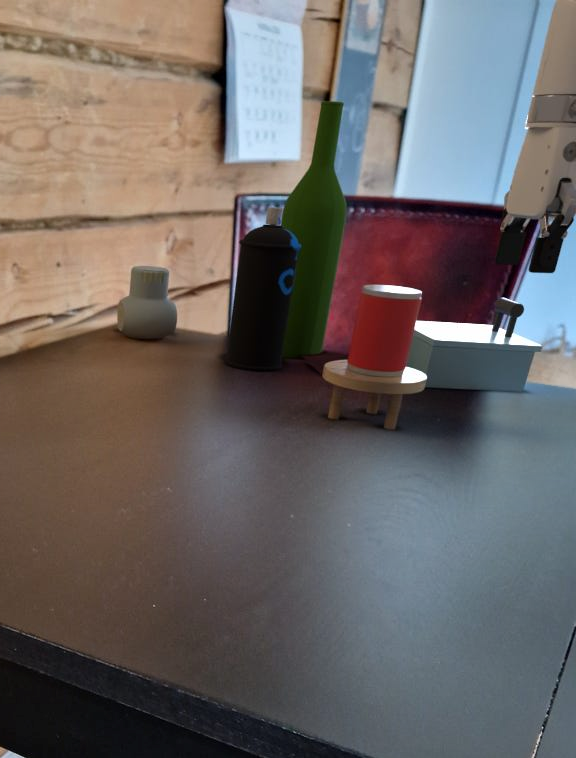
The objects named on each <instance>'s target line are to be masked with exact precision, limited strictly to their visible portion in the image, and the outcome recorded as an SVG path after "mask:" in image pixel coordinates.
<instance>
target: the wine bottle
mask: <svg viewBox="0 0 576 758" xmlns="http://www.w3.org/2000/svg"><path fill="white" fill-rule="evenodd" d="M344 106H345V103H344V102H343V101H331V100H324V101H321V103H320V111H319V115H318V121H317V128H316V134H315V138H314V139H315V140H314V145H313V151H312V155H311V156H312V157H311V163H310V165H309V167H308V169H307V171H306V172H305V173H304V174H303V176H302V177H301V178H300V181H299V182H298V183H297V184H296V186H295V187H294V189H292V191H291V193H290V194H289V195H288V197H287V198H286V201H285V203H284V207H283V208H282V209H283V211H282V214H281V224H280V226H282V228H284V229H286V230H288V231H290V232H291V233H293V234H294V235H295V237H296V238H297V240H298V243H299V244H301V248H300V249H299V252H298V258H297V264H296V271H295V277H294V283H293V290H292V296H291V302H290V309H289V315H288V321H287V328H286V334H285V340H284V347H283V353H282V358H285V359H297V360H305V357H304V356H302V355H318V354H322V352H323V349H324V343H325V338H326V332H327V327H328V322H329V316H330V310H331V305H332V299H333V293H334V289H335V288H334V287H335V282H336V276H337V273H338V272H337V270H338V266H339V261H340V255H341V248H342V244H343V238H344V232H345V226H346V222H347V216H348V215H347V214H348V213H347V211H348V210H347V209H348V207H347V200H346V198H345V194H344V192H343V190H342V186H341V184H340V181H339V179H338V175H337V172H336V167H335V163H336V156H337V148H338V142H339V135H340V130H341V124H342V116H343V111H344Z"/></svg>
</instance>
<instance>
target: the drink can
mask: <svg viewBox="0 0 576 758" xmlns="http://www.w3.org/2000/svg"><path fill="white" fill-rule="evenodd" d="M422 295H423V291H421V290H419V289H415V288H412V287H405V286H398V285H387V284H366V285H363V286H362V291H360V296H359V300H358V305H357V311H356V316H355V321H354V325H353V331H352V336H351V342H350V346H349V351H348V356H347V360H348V361H347V362H348V366H347V368H348V369H349V370H351V371H353V372H356V373H359V374H364V375H369V376H377V377H398V376H401V375H403V373H404V370H405V368H406V364H407V360H408V356H409V351H410V347H411V343H412V338H413V334H414V330H415V325H416V321H418V316H419V312H420V307H421V303H422V300H423V299H422Z"/></svg>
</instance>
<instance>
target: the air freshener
mask: <svg viewBox="0 0 576 758" xmlns="http://www.w3.org/2000/svg"><path fill="white" fill-rule="evenodd" d="M169 282H170V270H169V269H168V268H166V267H161V266H155V265H153V266H151V265H135V266H133V267H131V270H130V282H129V293H128V295H126V296H125V297H123V298H121V299H119V301H118V304H117V312H116V313H117V314H116V317H117V318H116V320H117V327H118V330H119V331H120V332H121V333H123V334H124V335H125V336H126V337H127V338H131V339H138V340H163V339H164V338H166V337H169V336H170V335H172V334H173V333H175V331H176V329H177V324H178V310H177V306H176V303H175V302H174V301H173V300H171V299H170V298H168V294H169V293H168V292H169V284H170V283H169Z"/></svg>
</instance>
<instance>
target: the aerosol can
mask: <svg viewBox="0 0 576 758" xmlns="http://www.w3.org/2000/svg"><path fill="white" fill-rule="evenodd" d="M283 209H284V208H283V207H277V206H275V207H274V206H268V207H267V210H266V217H265V218H266V219H265V224H262V225H261V226H259V227H258V226H257V227H255V228H253V229H251V230H249V231H248V232H247V233H246V234H245V235H244V236H243V238H242V239H239V241H238V243H239V245H240V246H239V247H240V248H239V256H238V264H237V272H236V279H235V286H234V296H233V304H232V312H231V318H230V326H229V335H228V342H227V349H226V357H225V358H224V363H225V364H226V366H229V367H231V368H235V369H240V370H246V371H255V372H271V371H278V370H280V369H282V368H283V363H282V358H283V357H282V353H283V347H284V340H285V334H286V328H287V321H288V315H289V309H290V302H291V296H292V290H293V283H294V277H295V271H296V264H297V258H298V252H299V249H300V248H301V244H299V243H298V240H297V238H296V237H295V235H294V234H293V233H291V232H290V231H288V230H286V229H284V228H282V226H281V221H282V218H281V217H282V214H283Z"/></svg>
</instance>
